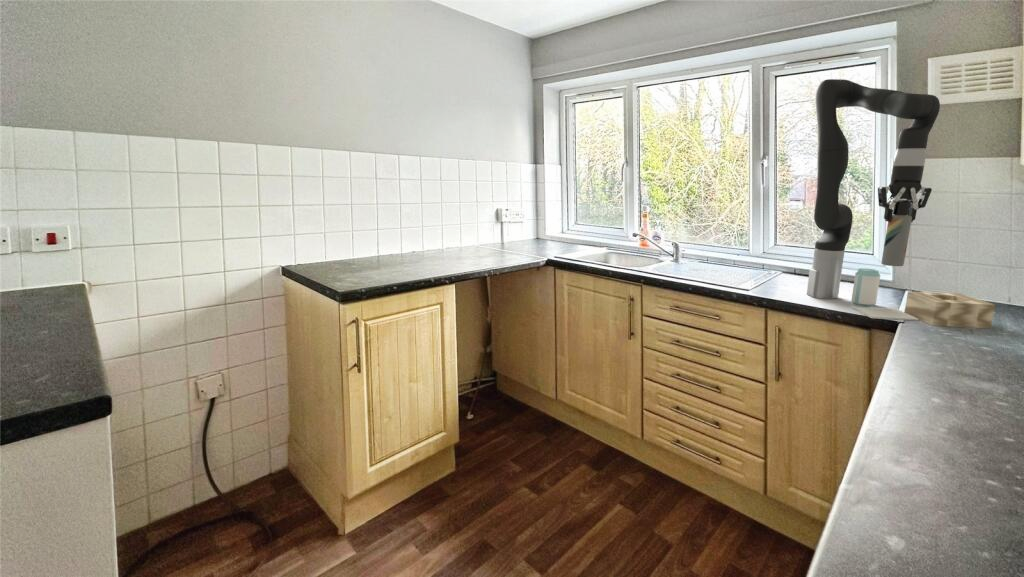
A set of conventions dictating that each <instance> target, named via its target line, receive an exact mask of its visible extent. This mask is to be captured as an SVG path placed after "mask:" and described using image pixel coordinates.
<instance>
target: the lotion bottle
mask: <svg viewBox="0 0 1024 577" xmlns="http://www.w3.org/2000/svg"><path fill="white" fill-rule="evenodd" d="M910 203H911V201H908V200H906V199H899V200H898V202H897V203H896V204H895V205H894V207H893V215H892V220H891V222H888V221H887V225H886V226H887V227H886V233H885V237H884V244H883V250H882V257H881V264H882V265H884V266H889V267H903V266H904V264H905V259H906V253H907V249H908V248H907V247H908V243H909V237H910V231H911V226H912V225H911V224H912V222H911V220H912V217H911V216H907V215H909V210H910Z"/></svg>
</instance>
